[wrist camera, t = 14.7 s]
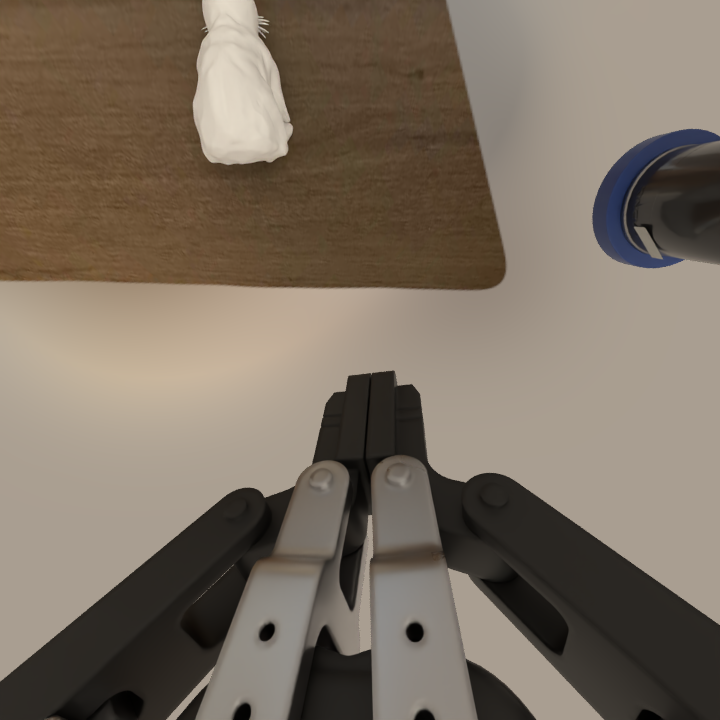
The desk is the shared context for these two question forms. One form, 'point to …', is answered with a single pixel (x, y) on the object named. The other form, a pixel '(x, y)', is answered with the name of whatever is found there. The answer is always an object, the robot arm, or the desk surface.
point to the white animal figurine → (238, 88)
